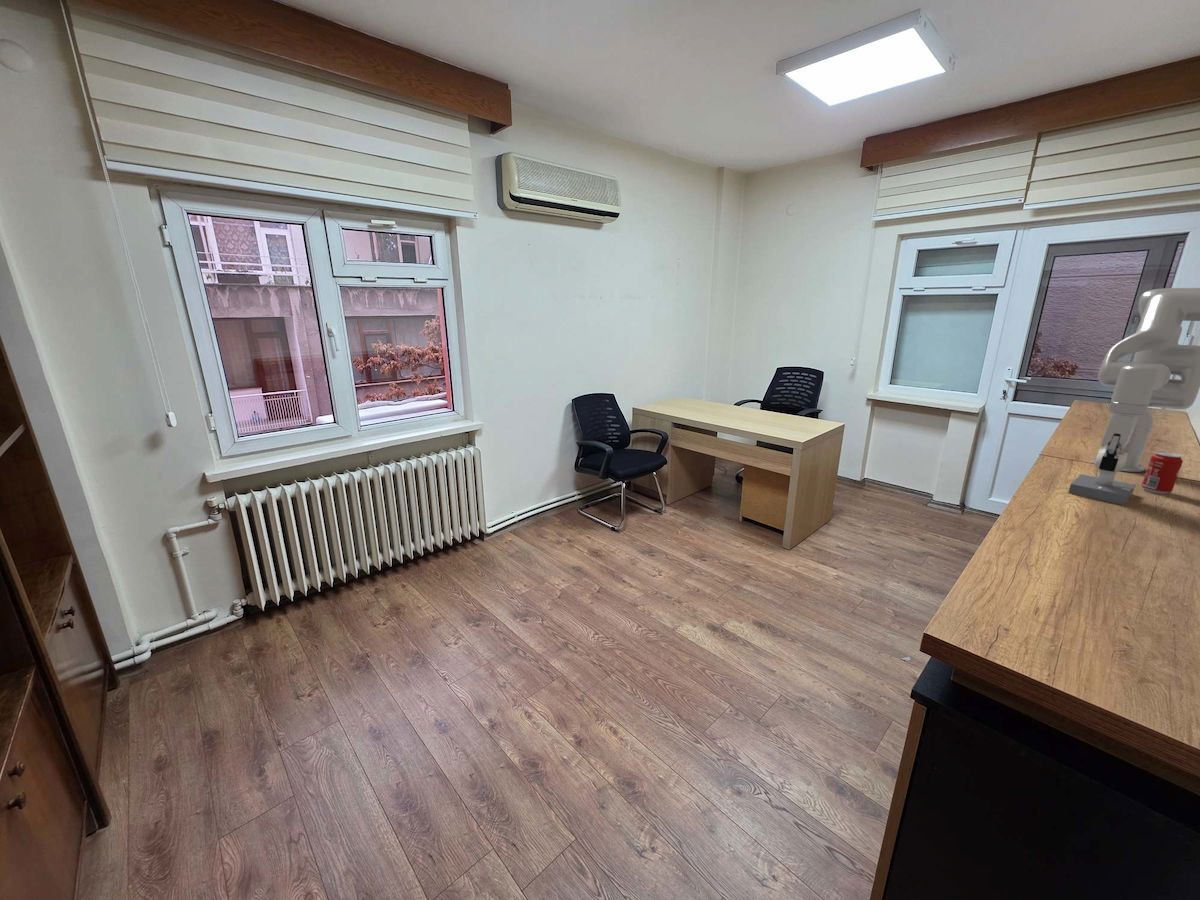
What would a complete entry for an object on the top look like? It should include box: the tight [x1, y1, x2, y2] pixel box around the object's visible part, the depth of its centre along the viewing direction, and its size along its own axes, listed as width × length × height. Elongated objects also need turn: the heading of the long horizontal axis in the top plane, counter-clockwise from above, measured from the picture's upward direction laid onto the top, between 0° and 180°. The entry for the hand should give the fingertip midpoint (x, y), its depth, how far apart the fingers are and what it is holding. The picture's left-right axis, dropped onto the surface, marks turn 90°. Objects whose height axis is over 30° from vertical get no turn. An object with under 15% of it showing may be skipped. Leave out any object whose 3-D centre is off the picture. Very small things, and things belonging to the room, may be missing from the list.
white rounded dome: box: [1094, 448, 1128, 472], centre depth 143 cm, size 6×6×5 cm
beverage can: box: [1141, 451, 1184, 495], centre depth 146 cm, size 6×6×12 cm
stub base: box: [1068, 468, 1136, 506], centre depth 145 cm, size 14×12×8 cm
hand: (1108, 467), depth 144 cm, fingers closed on white rounded dome, 6 cm apart
